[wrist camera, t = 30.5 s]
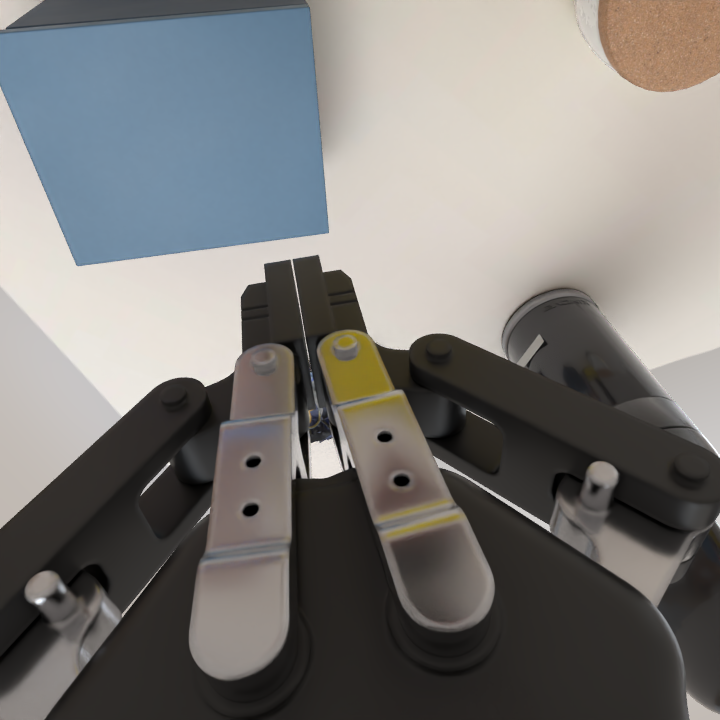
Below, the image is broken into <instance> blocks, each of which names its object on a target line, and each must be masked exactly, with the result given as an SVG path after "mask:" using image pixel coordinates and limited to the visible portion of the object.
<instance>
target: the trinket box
mask: <svg viewBox="0 0 720 720" xmlns="http://www.w3.org/2000/svg"><path fill="white" fill-rule="evenodd" d="M574 6H575V12H576V17H577V22H578V26H579V28H580V31H581V33H582V36H583V37H584V39H585V41H586V42H587V44H588V46H589V47H590V49H591V50H592V51H593V52H594V54H595V55H596V56H597V57H598V58H599V59H600V60H601V61H602V62H603V63H604V64H605V65H607V66H608V67H610V68H611V69H613V70H614V71H616V72H617V73H619V75H620V76H622V77H623V78H625V79H626V80H628V81H629V82H631V83H632V84H634V85H636V86H638V87H641V88H644V89H646V90H651V91H657V92H668V91H677V90H681V89H686V88H689V87H691V86H694V85H697V84H699V83H702V82H703V81H705V80H707V79H709V78H711V77H713V76H715V75H716V74H718V73H719V72H720V0H574Z"/></svg>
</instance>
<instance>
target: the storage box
mask: <svg viewBox="0 0 720 720" xmlns="http://www.w3.org/2000/svg"><path fill="white" fill-rule="evenodd" d="M302 4H307V2H306V1H305V0H44V1H43V2H42V3H40V4H39V5H37V6H36V7H35V8H33V9H32V10H30V11H29V12H28V13H26V14H25V15H23V16H22V17H21V18H19V19H18V20H16V21H15V22H14V23H12V24H11V25H9V26H8V27H7V28H6V29H16V28H28V27H40V26H52V25H64V24H76V23H88V22H100V21H111V20H123V19H135V18H147V17H159V16H171V15H183V14H195V13H206V12H218V11H230V10H242V9H254V8H266V7H278V6H290V5H302ZM307 5H308V4H307Z"/></svg>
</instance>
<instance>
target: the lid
mask: <svg viewBox="0 0 720 720" xmlns="http://www.w3.org/2000/svg"><path fill="white" fill-rule="evenodd" d="M0 86H1V89H2V91H3V93H4V96H5V98H6V100H7V103H8V105H9V107H10V110H11V112H12V114H13V117H14V119H15V121H16V124H17V126H18V129H19V131H20V133H21V136H22V138H23V140H24V143H25V145H26V147H27V150H28V152H29V154H30V157H31V159H32V161H33V164H34V166H35V169H36V171H37V173H38V176H39V178H40V180H41V183H42V185H43V187H44V190H45V192H46V194H47V197H48V199H49V201H50V204H51V206H52V209H53V211H54V213H55V216H56V218H57V220H58V223H59V225H60V227H61V230H62V232H63V234H64V237H65V239H66V242H67V244H68V246H69V249H70V251H71V253H72V256H73V258H74V260H75V263H76V265H77V266H83V265H90V264H98V263H106V262H113V261H121V260H128V259H136V258H143V257H151V256H159V255H166V254H174V253H181V252H189V251H196V250H204V249H212V248H219V247H227V246H234V245H242V244H249V243H257V242H265V241H272V240H280V239H287V238H295V237H302V236H310V235H318V234H325V233H329V226H328V215H327V203H326V191H325V180H324V168H323V156H322V145H321V133H320V121H319V109H318V98H317V86H316V74H315V63H314V51H313V39H312V28H311V16H310V8H309V6H308V5H307V4H302V5H290V6H278V7H266V8H254V9H242V10H230V11H218V12H206V13H195V14H183V15H171V16H159V17H147V18H135V19H123V20H111V21H100V22H88V23H76V24H64V25H52V26H40V27H28V28H16V29H4V30H0Z"/></svg>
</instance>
